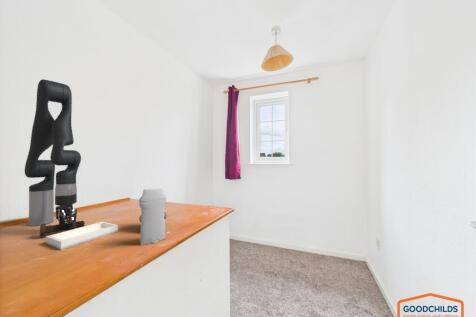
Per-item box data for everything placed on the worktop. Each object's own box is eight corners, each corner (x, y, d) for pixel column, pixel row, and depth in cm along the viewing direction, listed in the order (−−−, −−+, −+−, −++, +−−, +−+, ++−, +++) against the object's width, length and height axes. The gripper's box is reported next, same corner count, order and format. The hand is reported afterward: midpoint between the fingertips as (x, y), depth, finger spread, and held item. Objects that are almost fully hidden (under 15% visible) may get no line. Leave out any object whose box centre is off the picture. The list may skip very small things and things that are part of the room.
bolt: (84, 232, 94) (39, 240, 83) (82, 224, 97) (39, 231, 86) (85, 222, 92) (40, 229, 81) (84, 215, 95) (40, 221, 84)
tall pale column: (141, 247, 75) (141, 189, 75) (137, 243, 77) (137, 188, 78) (168, 239, 82) (168, 186, 82) (164, 236, 85) (164, 185, 85)
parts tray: (46, 243, 78) (46, 236, 78) (102, 227, 96) (102, 221, 96) (61, 250, 72) (61, 241, 72) (117, 231, 91) (118, 225, 91)
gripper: (48, 193, 90) (47, 230, 90) (63, 196, 83) (63, 236, 83) (68, 191, 96) (67, 225, 96) (84, 193, 90) (83, 230, 90)
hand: (65, 230), depth 90 cm, fingers closed on bolt, 6 cm apart
